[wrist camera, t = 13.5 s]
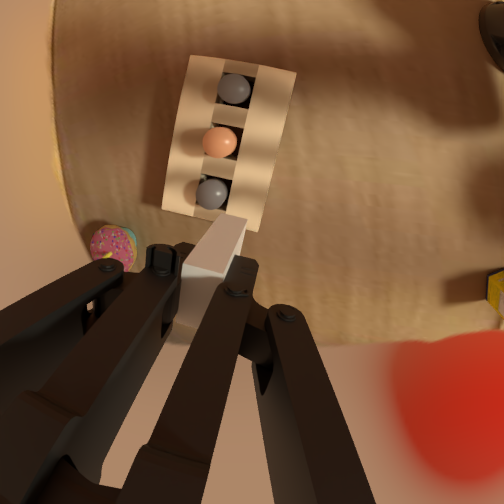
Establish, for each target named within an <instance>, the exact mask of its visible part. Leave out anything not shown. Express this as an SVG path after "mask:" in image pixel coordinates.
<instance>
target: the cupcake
mask: <svg viewBox="0 0 504 504" xmlns="http://www.w3.org/2000/svg"><path fill="white" fill-rule="evenodd" d="M90 250H91V254H92V257H93V260H94V261H95V260H98V259H101V258H114V259H116V260H119V261H120V262H122V263H123V265H124V272H128V271H129V270H130V269H131V267H132V266H133V264H134V262H135V259H136V255H137V249H136V237H135V235H134V234H133V232H132V231H131V230H129V229H128V228H125V227H118V226H117V225H105V226H103V227H101V228H100V229H99V230H97V231H96V232H95V233H94V234H93V237H92V239H91V243H90Z"/></svg>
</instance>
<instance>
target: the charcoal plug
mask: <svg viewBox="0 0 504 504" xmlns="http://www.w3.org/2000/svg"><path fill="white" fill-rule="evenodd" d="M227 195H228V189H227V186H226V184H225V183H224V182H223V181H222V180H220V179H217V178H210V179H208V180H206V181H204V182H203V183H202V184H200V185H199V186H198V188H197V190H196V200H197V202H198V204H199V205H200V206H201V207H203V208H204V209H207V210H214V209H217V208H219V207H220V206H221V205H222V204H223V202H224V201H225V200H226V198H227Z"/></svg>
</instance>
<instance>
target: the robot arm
mask: <svg viewBox="0 0 504 504" xmlns="http://www.w3.org/2000/svg"><path fill="white" fill-rule="evenodd" d="M479 27H480V32H481V35H482V38H483V41H484V43H485V46H486V48H487V50H488V51H489V53H490V55H491V56H492V58H493V59H494V61H495V62H496V63H497V65H498V66H499V67H500V68H501V69H502V70H503V71H504V2H501V1H496V2H492V3H490V4H488V5H486V6H484V7H483V8H482V10H481V12H480V15H479ZM247 221H248V219H245V218H241V217H237V216H232V215H228V214H224V213H221V214H220V215H219V216H218V218H217V219H216V220H215V221H214V223H213V224H212V225H211V227H210V228H209V229H208V231H207V232H206V233H205V234H204V236H203V237H202V238H201V240H200V241H199V242H198V244H197V245H193V244H189V243H185V242H182V243H179V244H176V245H175V246H174V247H173V246H171V245H166V244H153V245H150V246H148V247H147V250H146V264H145V268H144V269H143V270H142V271H141V272H140V273H133V272H124V265H123V263H122V262H120V261H119V260H116V259H114V258H101V259H98V260H95V261H93V262H91V263H89V264H87V265H85V266H83V267H81V268H79V269H77V270H75V271H73V272H71V273H70V274H67V275H65V276H63V277H61V278H59V279H58V280H56V281H54V282H52V283H50V284H48V285H46V286H44V287H43V288H41V289H39V290H37V291H35V292H33V293H31V294H29V295H28V296H26V297H24V298H22V299H20V300H19V301H17V302H15V303H13V304H11V305H10V306H8V307H6V308H4V309H3V310H1V311H0V504H201V500H202V497H203V493H204V489H205V485H206V481H207V477H208V473H209V469H210V464H211V459H212V456H213V452H214V448H215V444H216V440H217V436H218V432H219V428H220V424H221V420H222V416H223V412H224V408H225V404H226V400H227V396H228V392H229V388H230V384H231V380H232V376H233V372H234V368H235V364H236V360H237V356H238V354H239V355H241V356H243V357H245V358H247V359H249V360H251V361H252V373H253V379H254V385H255V391H256V398H257V404H258V410H259V416H260V422H261V428H262V434H263V440H264V446H265V452H266V458H267V463H268V469H269V474H270V480H271V486H272V492H273V497H274V503H275V504H376V503H375V500H374V497H373V494H372V491H371V489H370V486H369V483H368V480H367V477H366V475H365V472H364V469H363V466H362V464H361V461H360V458H359V456H358V453H357V450H356V448H355V445H354V442H353V440H352V437H351V434H350V432H349V429H348V426H347V424H346V421H345V419H344V416H343V413H342V411H341V408H340V406H339V403H338V400H337V398H336V395H335V392H334V390H333V387H332V385H331V382H330V380H329V377H328V374H327V372H326V370H325V367H324V365H323V362H322V359H321V357H320V354H319V352H318V349H317V347H316V344H315V342H314V339H313V337H312V334H311V332H310V329H309V327H308V324H307V322H306V319H305V317H304V315H303V314H302V313H301V312H300V311H299V310H298V309H296V308H294V307H292V306H290V305H285V304H276V305H273V306H271V307H270V308H269V309H267V308H265V307H263V306H261V305H259V304H258V303H257V302H256V301H255V300H254V298H253V289H254V284H255V280H256V276H257V272H258V267H259V265H258V263H257V261H256V260H254V259H251V258H247V257H243V256H240V251H241V247H242V243H243V238H244V234H245V229H246V225H247ZM91 301H92V302H93V308H92V309H91V310H87V304H88V303H90V302H91ZM176 313H177V316H176V323H180V324H183V325H186V326H190V327H193V328H197V329H198V330H197V332H196V334H195V336H194V339H193V341H192V343H191V345H190V348H189V350H188V352H187V355H186V357H185V359H184V361H183V363H182V366H181V368H180V370H179V373H178V375H177V377H176V379H175V382H174V384H173V386H172V389H171V391H170V394H169V395H168V398H167V400H166V402H165V405H164V407H163V409H162V412H161V414H160V416H159V419H158V421H157V423H156V426H155V428H154V430H153V433H152V435H151V437H150V439H149V441H148V443H147V444H145V445H143V446H142V447H141V448H140V449H139V451H138V453H137V455H136V457H135V459H134V462H133V464H132V466H131V469H130V471H129V473H128V476H127V478H126V480H125V483H124V485H123V487H122V489H119V488H114V487H109V486H104V485H99V482H100V478H101V470H102V465H103V462H104V459H105V457H106V455H107V453H108V451H109V449H110V447H111V445H112V443H113V441H114V439H115V437H116V435H117V433H118V431H119V429H120V427H121V425H122V423H123V421H124V419H125V417H126V415H127V413H128V412H129V410H130V408H131V406H132V404H133V402H134V400H135V398H136V396H137V394H138V392H139V390H140V388H141V386H142V384H143V383H144V380H145V379H146V376H147V375H148V373H149V371H150V369H151V367H152V365H153V364H154V362H155V360H156V358H157V356H158V354H159V352H160V350H161V349H162V347H163V345H164V343H165V341H166V339H167V337H168V336H169V334H170V332H171V330H172V326H173V318H174V317H175V315H176Z"/></svg>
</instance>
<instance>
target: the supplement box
mask: <svg viewBox="0 0 504 504" xmlns="http://www.w3.org/2000/svg"><path fill="white" fill-rule="evenodd" d="M486 300H487V301H488V302H489V304H490V305H491V306H492V307H493V308H494V309H495V310H496V311H497V313H498V314H499V315H500V316H501V317H502V318H503V319H504V269H501V270H498V271H496V272H494V273H491V274H489V275H487V289H486Z"/></svg>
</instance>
